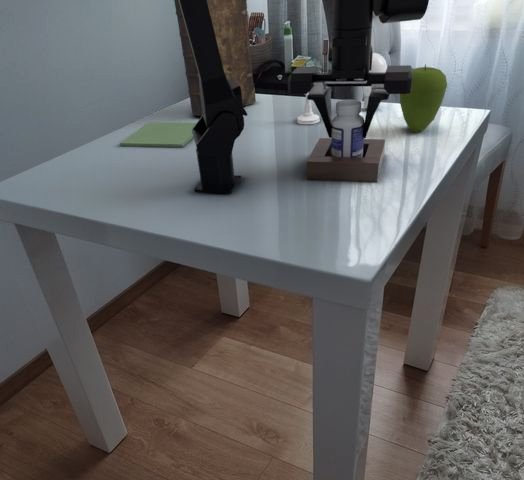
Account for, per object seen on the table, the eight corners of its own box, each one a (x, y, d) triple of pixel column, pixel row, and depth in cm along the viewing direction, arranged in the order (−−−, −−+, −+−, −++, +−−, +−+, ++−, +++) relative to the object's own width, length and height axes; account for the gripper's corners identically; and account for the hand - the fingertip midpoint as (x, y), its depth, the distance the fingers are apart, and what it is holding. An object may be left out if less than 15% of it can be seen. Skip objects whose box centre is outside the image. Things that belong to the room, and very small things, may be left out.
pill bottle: (361, 152, 88) (365, 97, 82) (363, 163, 84) (366, 106, 78) (331, 153, 88) (332, 98, 83) (331, 164, 84) (332, 108, 79)
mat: (182, 147, 101) (182, 144, 101) (120, 145, 105) (119, 142, 104) (206, 125, 111) (206, 122, 111) (149, 125, 115) (148, 122, 115)
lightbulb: (364, 104, 116) (367, 49, 109) (389, 107, 113) (394, 50, 106) (349, 111, 112) (351, 55, 105) (374, 114, 109) (378, 57, 102)
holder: (377, 182, 81) (378, 163, 80) (306, 179, 84) (306, 161, 82) (383, 156, 90) (385, 139, 88) (319, 154, 93) (319, 138, 91)
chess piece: (294, 124, 108) (293, 72, 101) (299, 117, 111) (298, 66, 105) (317, 124, 106) (317, 71, 100) (321, 117, 110) (322, 66, 104)
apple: (445, 135, 96) (456, 67, 89) (401, 138, 96) (408, 71, 89) (433, 121, 103) (442, 57, 95) (391, 124, 103) (397, 61, 96)
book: (199, 119, 115) (180, -15, 99) (184, 113, 120) (163, -16, 104) (258, 103, 122) (249, -24, 106) (241, 98, 127) (231, -25, 111)
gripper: (420, 16, 77) (408, 123, 87) (301, 20, 82) (302, 122, 92) (417, 28, 69) (404, 145, 79) (285, 32, 74) (288, 142, 84)
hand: (347, 137), depth 84 cm, fingers closed on pill bottle, 5 cm apart
